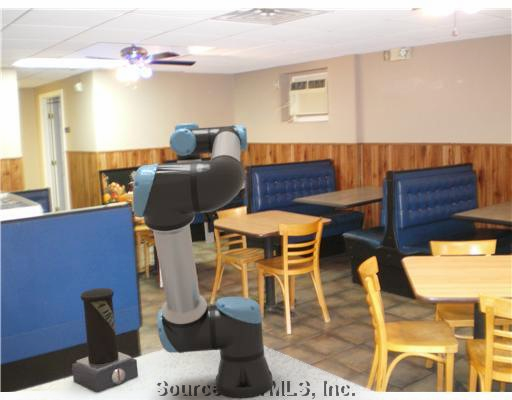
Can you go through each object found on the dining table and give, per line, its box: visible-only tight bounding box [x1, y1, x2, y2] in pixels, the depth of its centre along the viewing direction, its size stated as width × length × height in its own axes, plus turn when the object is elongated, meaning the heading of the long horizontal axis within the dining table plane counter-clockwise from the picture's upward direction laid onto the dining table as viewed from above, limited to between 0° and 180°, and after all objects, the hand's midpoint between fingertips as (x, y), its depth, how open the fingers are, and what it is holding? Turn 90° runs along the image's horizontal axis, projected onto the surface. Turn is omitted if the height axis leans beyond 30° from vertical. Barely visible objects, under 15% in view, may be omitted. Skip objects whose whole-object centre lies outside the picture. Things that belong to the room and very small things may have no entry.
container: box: [80, 287, 119, 363], centre depth 157 cm, size 9×9×20 cm
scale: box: [71, 351, 139, 393], centre depth 158 cm, size 14×13×6 cm
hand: (195, 241), depth 174 cm, fingers open, 13 cm apart
